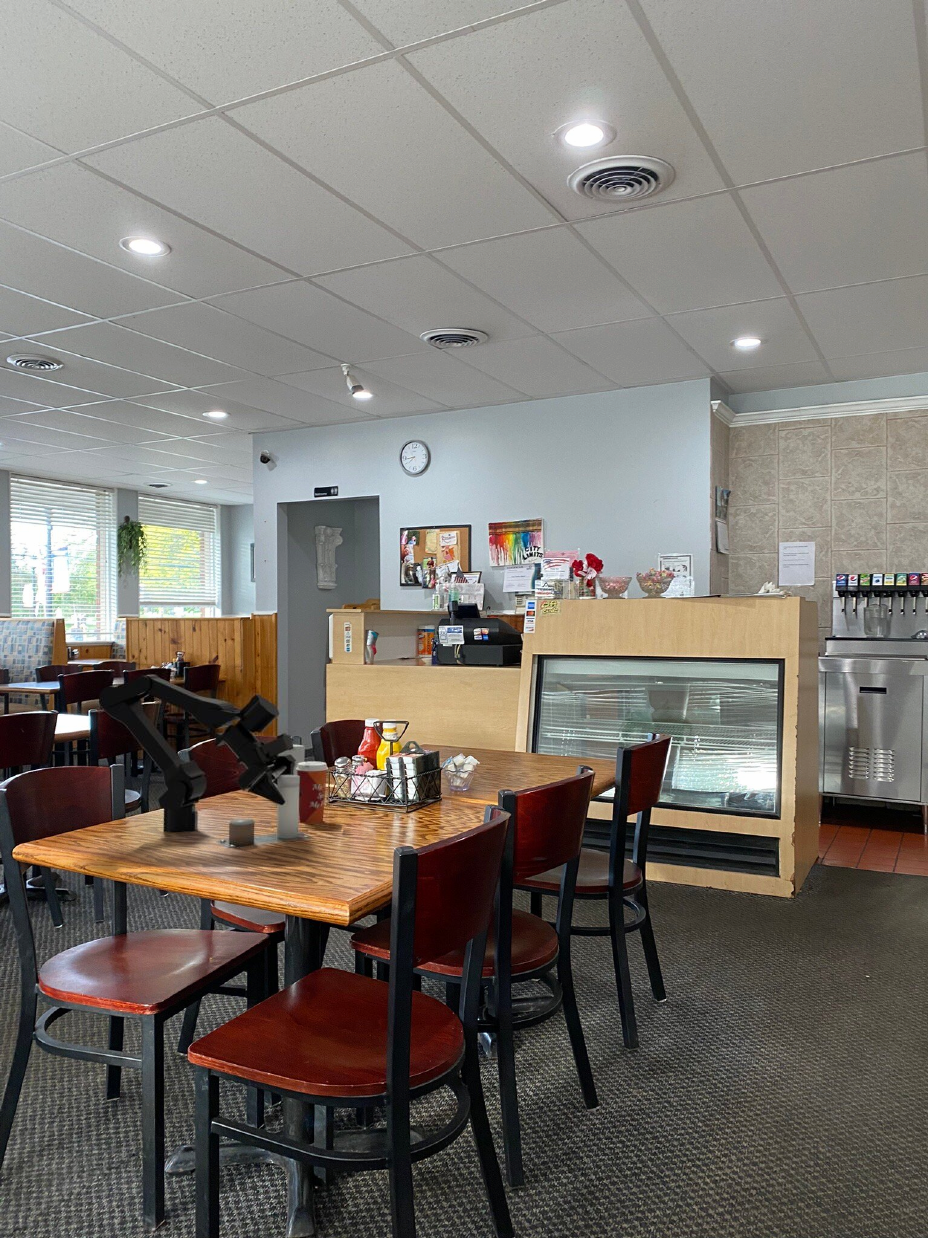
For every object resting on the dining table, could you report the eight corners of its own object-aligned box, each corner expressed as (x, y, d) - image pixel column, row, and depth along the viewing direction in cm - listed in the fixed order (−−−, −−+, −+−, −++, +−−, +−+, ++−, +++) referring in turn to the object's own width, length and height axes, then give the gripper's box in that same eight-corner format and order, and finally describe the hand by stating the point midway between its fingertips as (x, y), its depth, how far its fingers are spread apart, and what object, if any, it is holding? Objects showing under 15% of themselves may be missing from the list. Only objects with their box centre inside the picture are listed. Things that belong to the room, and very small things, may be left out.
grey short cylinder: (226, 845, 186) (226, 823, 186) (231, 839, 191) (231, 818, 191) (251, 845, 186) (252, 823, 186) (256, 839, 191) (256, 818, 191)
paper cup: (320, 825, 210) (321, 766, 210) (289, 824, 211) (291, 764, 212) (332, 819, 218) (333, 761, 218) (302, 817, 219) (303, 760, 219)
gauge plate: (228, 852, 183) (229, 847, 183) (215, 845, 189) (215, 839, 189) (313, 841, 194) (313, 836, 194) (298, 834, 200) (298, 829, 200)
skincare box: (276, 802, 239) (277, 746, 239) (267, 799, 244) (268, 744, 244) (304, 799, 244) (305, 745, 244) (295, 796, 249) (296, 742, 249)
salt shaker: (277, 839, 192) (278, 778, 192) (276, 834, 196) (277, 775, 196) (299, 838, 193) (300, 777, 193) (297, 833, 197) (298, 774, 198)
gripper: (252, 726, 187) (300, 781, 184) (288, 718, 205) (332, 769, 202) (217, 762, 188) (264, 817, 186) (255, 751, 206) (299, 802, 204)
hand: (292, 800), depth 194 cm, fingers open, 9 cm apart
